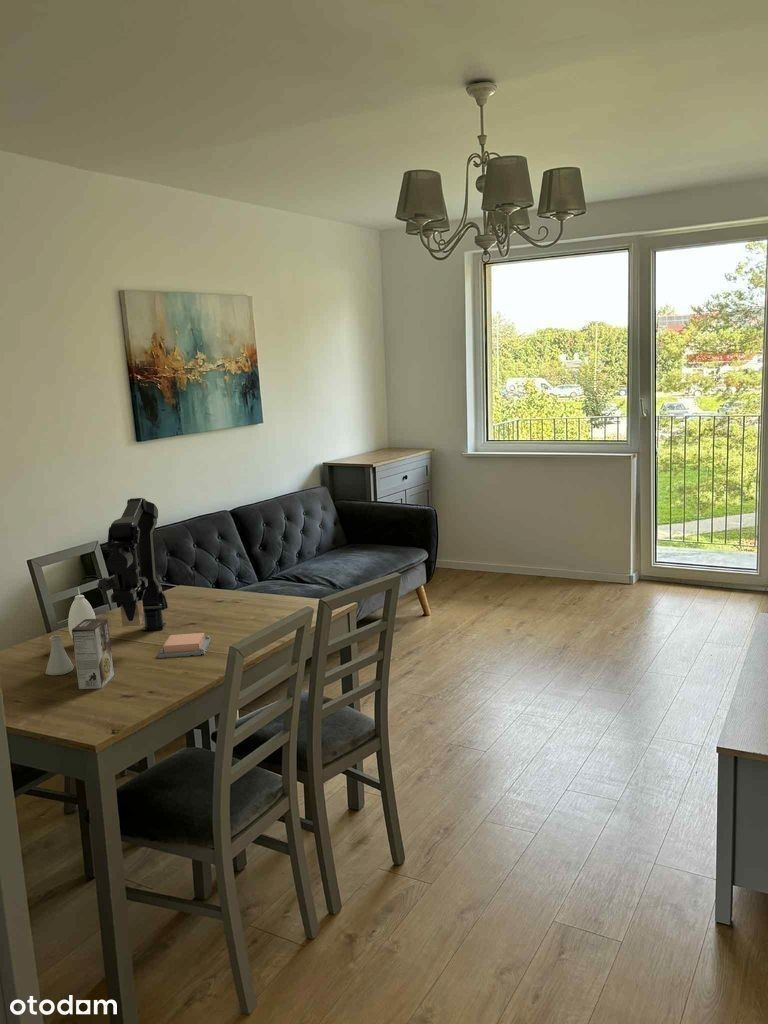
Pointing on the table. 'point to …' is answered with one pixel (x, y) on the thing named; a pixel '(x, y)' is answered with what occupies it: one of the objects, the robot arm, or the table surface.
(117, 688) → the table surface
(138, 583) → the robot arm
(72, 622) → the sauce bottle
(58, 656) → the flask
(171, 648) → the brick base
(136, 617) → the tan wooden block
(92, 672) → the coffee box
